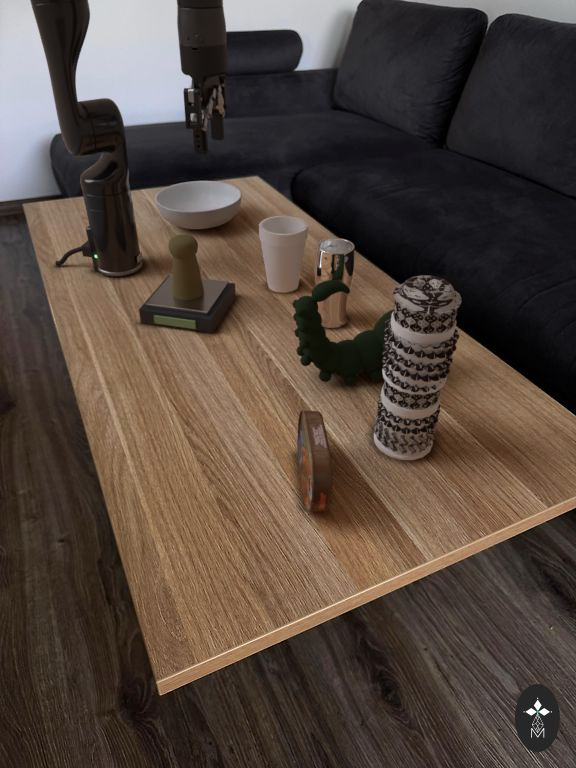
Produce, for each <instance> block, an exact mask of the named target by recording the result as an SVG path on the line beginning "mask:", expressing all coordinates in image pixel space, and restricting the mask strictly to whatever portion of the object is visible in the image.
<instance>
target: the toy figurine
mask: <svg viewBox="0 0 576 768" xmlns="http://www.w3.org/2000/svg"><path fill="white" fill-rule="evenodd" d="M337 292H344V293H346V294H348V295H349V294H350V293H351V288H350V289H349V287H348V286H347V285H346V284H344V283H343V282H340V281H337V280H328V281H323V282H321V283H319V284H317V285H316V284H315V286H313V288H312V289H311V295H303V296H300V297H299V298H298V299H294V300H293V301H292V302H291V304H292V307H293V308H294V311H295V313H294V314H293V316H292V319H293V320H294V321H295V326H297V328H296V329H295V330H294V336H295V337H296V338H298V341H299V342H298V347H296V354H297V356H299V357H300V359H299V363H300V365H302V366H303V367H307V366H310V365H311V363H313V365H314V367H315V368H317V369H319V370H320V371H319V372H318V379H320V381H321V382H324V383H327V382H329V381H331V380H332V376H333V375H332V374H336V375H337V376H339V377H342V378H343V379H344V383H345V385H348V386H354V385H356V383H357V381H358V377H357V376H359V375H361V374H362V373H363V372H365V373H368V376H369V378H370V379H371V380H372V381H375V382H376V381H377V382H378V381H379V382H380V381H381V380H384V378H383V373H382V366H383V364H384V363H383V361H382V360H383V358H384V356H383V351H384V350H385V349H384V347H383V346H384V343H385V340H384V336H385V335H386V333H385V327H387V326H386V325H385V322H386V320H388V319H389V315H390V314H392V313H393V311H394V308H393V309H391V310H389V311H387V312H385V313H383V314H382V315H381V316H380V317H379V318H378V319H377V321H376V323H375V324H374V327H373V329H366V330H364V331H361V332H360V333H359V332H358V334H356V335H355V337H353V338H352V339H343V340H340V341H338V342H335V341H332V340H330V338H329V337H328V336H327V333H326V328H325V327H323V326H322V325H321V324H322V318H321V315H320V313H319V312H318V302H321V301H324V300H325V299H327V298H328V297H329V296H331V295H333V294H335V293H337ZM390 327H391V325H390Z"/></svg>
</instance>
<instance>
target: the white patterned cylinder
mask: <svg viewBox="0 0 576 768" xmlns="http://www.w3.org/2000/svg"><path fill="white" fill-rule="evenodd" d="M392 294H393V298H394V305H393V309H394V311H393V313H392V314H390V315H389V319H388V320H386V322H385V325H386V326H387V327H385V333H386V335H385V336H384V340H385V343H384V346H383V347H384V349H385V350H384V351H383V356H384V358H383V360H382V361H383V363H384V364H383V366H382V373H383V382H384V383H383V385H382V387H381V391H380V394H379V396H378V401H377V409H376V414H375V419H374V428H373V432H374V433H373V441H374V444H375V445H376V447H377V449H378V450H379V451H380V452H381V453H383V454H385V455H386V456H388V457H390V458H393V459H395V460H400V461H415V460H418V459H422V458H424V457H425V456H427V455H428V454H429V453H430V452H431V450H432V447H433V444H434V440H435V436H434V435H435V434H436V432H437V428H436V427H437V423H438V422H439V414H440V413H441V404H440V402H441V398H442V396H441V391H442V389H443V388H444V387H445V384H446V382H447V379H448V375H449V374H450V372H451V369H450V368H451V364H452V363H453V362H454V359H453V357H452V356H453V354H454V353H455V351H456V350H457V348H458V347H457V343H458V340H459V339H460V334H459V333H458V332H459V330H458V329H457V328H456V327H457V323H458V322H457V318H456V317H457V315H458V311H459V307H460V306H461V304H462V301H463V299H462V297H461V294H460V293H459V292H458V291H457V290H455V289H454V286H453V285H452V284H451V283H450V282H449V281H447V280H446V279H444V278H441V277H439V276H434V275H425V274H424V275H422V274H421V275H416V276H412V277H410V278H408V279H406V280H405V281H404V282H403V283H401V284H399V285H397V286H396V287H395V289H393V292H392ZM390 325H391V327H390Z"/></svg>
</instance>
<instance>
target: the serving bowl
mask: <svg viewBox="0 0 576 768" xmlns="http://www.w3.org/2000/svg"><path fill="white" fill-rule="evenodd" d="M242 196H243V195H242V192H241V190H240V189H239V188H238V187H236V186H234V185H233V184H230V183H226V182H221V181H215V180H213V181H212V180H194V181H184V182H179V183H175V184H171V185H169V186H166V187H164V188H163V189H161V190H159V191H158V192H157V194H155V197H154V203H155V206H156V209H157V211H158V212H159V214H160V215H161V217H162V218H163V219H165V221H166V222H168V223H170V224H171V225H174V226H176V227H177V228H183V229H188V230H205V229H212V228H216V227H219V226H222V225H224V224H225V223H228V222H229V221H230V220H232V219H233V218H234V217H235V216H236V214H237V213H238V212H239V210H240V207H241V203H242Z"/></svg>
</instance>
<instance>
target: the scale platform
mask: <svg viewBox="0 0 576 768" xmlns="http://www.w3.org/2000/svg"><path fill="white" fill-rule="evenodd" d="M169 275H170V276H169V277H168V278H167V277H166V278H167V279H166V278H165V279H166V281H165V282H164V283H163V284H162V285H161V284H160V285H161V286H160V285H159V286H160V288H159V289H158V290H157V291H156V292H155V293H154V292H153V293H154V295H153V296H152V297H151V298H150V299H149V300H148V299H147V300H148V301H147V300H146V301H147V303H146V307H148V308H155V309H162V310H170V311H177V312H184V313H192V314H199V315H206V316H208V315H209V313H210V312H211V310H212V309H213V307H214V306H215V304H216V303H217V301H218V300H219V298H220V297H221V295H222V294H223V293H224V291H225V290H226V288H227V287H228V285H229V283H230V282H229V281H227V280H219V279H211V278H203V277H201V279H202V283H203V287H204V294H203V295H202V296H200V297H199V298H196V299H192V300H181V299H177V298H175V297H174V296H173V295H172V274H169Z"/></svg>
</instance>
